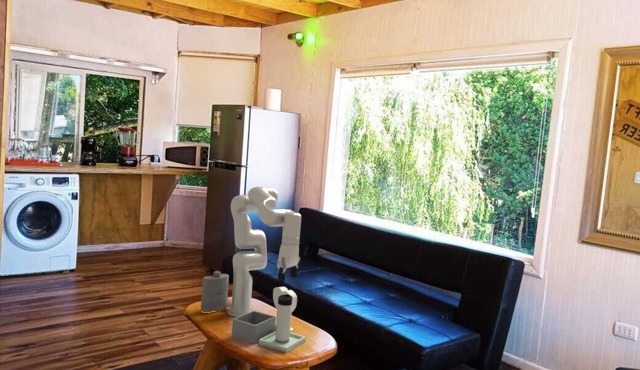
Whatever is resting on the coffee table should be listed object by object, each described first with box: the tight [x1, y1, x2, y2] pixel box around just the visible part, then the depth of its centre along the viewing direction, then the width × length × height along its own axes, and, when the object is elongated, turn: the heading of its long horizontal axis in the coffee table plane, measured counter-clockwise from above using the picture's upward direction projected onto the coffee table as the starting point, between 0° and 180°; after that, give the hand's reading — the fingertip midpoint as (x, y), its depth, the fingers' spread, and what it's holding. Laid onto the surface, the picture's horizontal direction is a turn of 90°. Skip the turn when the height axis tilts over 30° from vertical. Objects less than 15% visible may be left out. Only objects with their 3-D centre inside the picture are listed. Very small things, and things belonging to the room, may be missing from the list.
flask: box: [200, 270, 230, 312], centre depth 254 cm, size 15×6×20 cm, turn 139°
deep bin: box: [231, 310, 277, 345], centre depth 226 cm, size 13×16×8 cm
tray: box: [258, 330, 307, 354], centre depth 220 cm, size 14×16×2 cm
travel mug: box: [275, 294, 293, 343], centre depth 220 cm, size 6×7×20 cm
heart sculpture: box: [272, 286, 298, 332], centre depth 241 cm, size 16×5×18 cm, turn 38°
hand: (287, 279), depth 219 cm, fingers open, 9 cm apart
